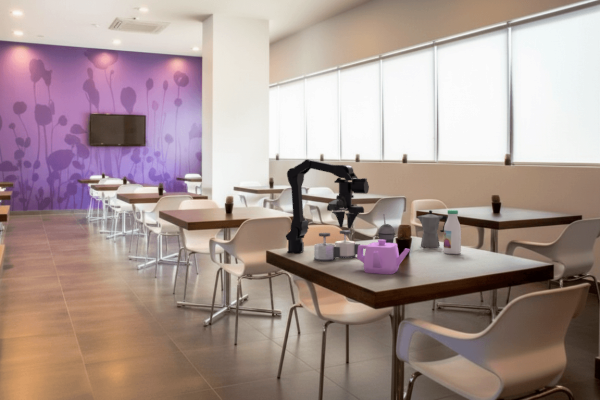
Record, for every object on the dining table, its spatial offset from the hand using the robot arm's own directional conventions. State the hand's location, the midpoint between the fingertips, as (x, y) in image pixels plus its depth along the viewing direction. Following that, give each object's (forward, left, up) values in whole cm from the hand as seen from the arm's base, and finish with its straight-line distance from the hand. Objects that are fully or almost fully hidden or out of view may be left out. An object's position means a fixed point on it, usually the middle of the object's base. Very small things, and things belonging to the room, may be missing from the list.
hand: (345, 227), depth 257 cm
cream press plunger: (0, 0, -8) cm, 8 cm away
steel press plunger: (-7, -10, -8) cm, 14 cm away
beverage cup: (+19, -3, -13) cm, 23 cm away
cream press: (+1, 0, -13) cm, 13 cm away
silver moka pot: (-6, -10, -13) cm, 17 cm away
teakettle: (+21, -27, -13) cm, 37 cm away
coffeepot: (+36, +38, -13) cm, 54 cm away
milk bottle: (+46, +21, -13) cm, 52 cm away
